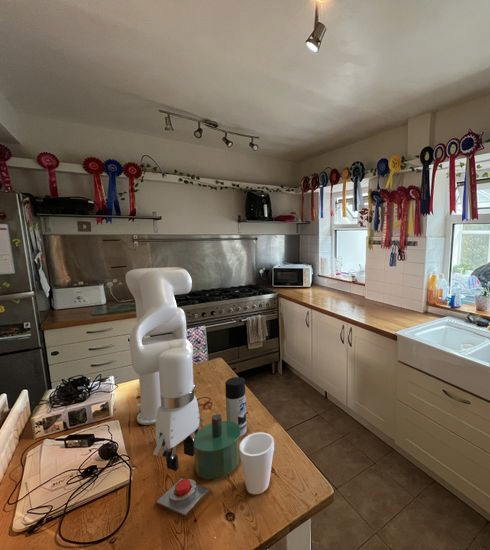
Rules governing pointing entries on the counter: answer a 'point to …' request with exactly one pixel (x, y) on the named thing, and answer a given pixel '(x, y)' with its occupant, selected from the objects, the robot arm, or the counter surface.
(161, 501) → the grey mounting plate
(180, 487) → the button
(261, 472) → the foam cup
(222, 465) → the green pot
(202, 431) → the pot lid
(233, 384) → the spray can
